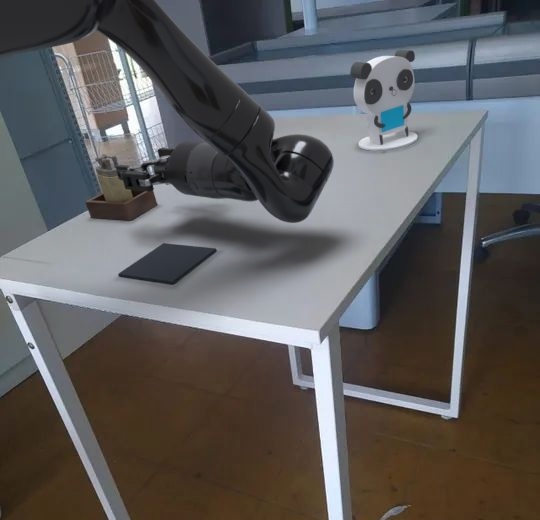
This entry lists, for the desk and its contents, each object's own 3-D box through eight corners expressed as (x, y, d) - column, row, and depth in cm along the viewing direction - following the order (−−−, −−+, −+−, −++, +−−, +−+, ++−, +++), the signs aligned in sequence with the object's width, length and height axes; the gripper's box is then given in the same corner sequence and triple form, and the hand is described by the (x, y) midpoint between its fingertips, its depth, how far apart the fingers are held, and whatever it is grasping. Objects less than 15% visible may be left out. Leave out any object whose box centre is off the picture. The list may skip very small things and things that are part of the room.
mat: (173, 284, 71) (172, 281, 71) (118, 276, 76) (117, 273, 76) (216, 250, 78) (216, 248, 77) (164, 245, 83) (163, 242, 82)
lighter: (106, 211, 101) (86, 156, 95) (123, 204, 103) (105, 150, 97) (124, 218, 96) (105, 160, 90) (142, 210, 98) (125, 153, 92)
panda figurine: (376, 155, 101) (372, 65, 92) (344, 145, 110) (337, 62, 101) (430, 138, 104) (430, 49, 96) (394, 129, 113) (391, 47, 104)
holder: (131, 220, 94) (125, 204, 93) (90, 217, 99) (84, 201, 98) (157, 204, 99) (152, 188, 97) (117, 202, 104) (112, 187, 102)
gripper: (236, 128, 80) (166, 126, 90) (163, 160, 72) (95, 153, 82) (246, 179, 84) (178, 171, 94) (178, 214, 77) (112, 202, 86)
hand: (140, 163), depth 88 cm, fingers open, 8 cm apart
